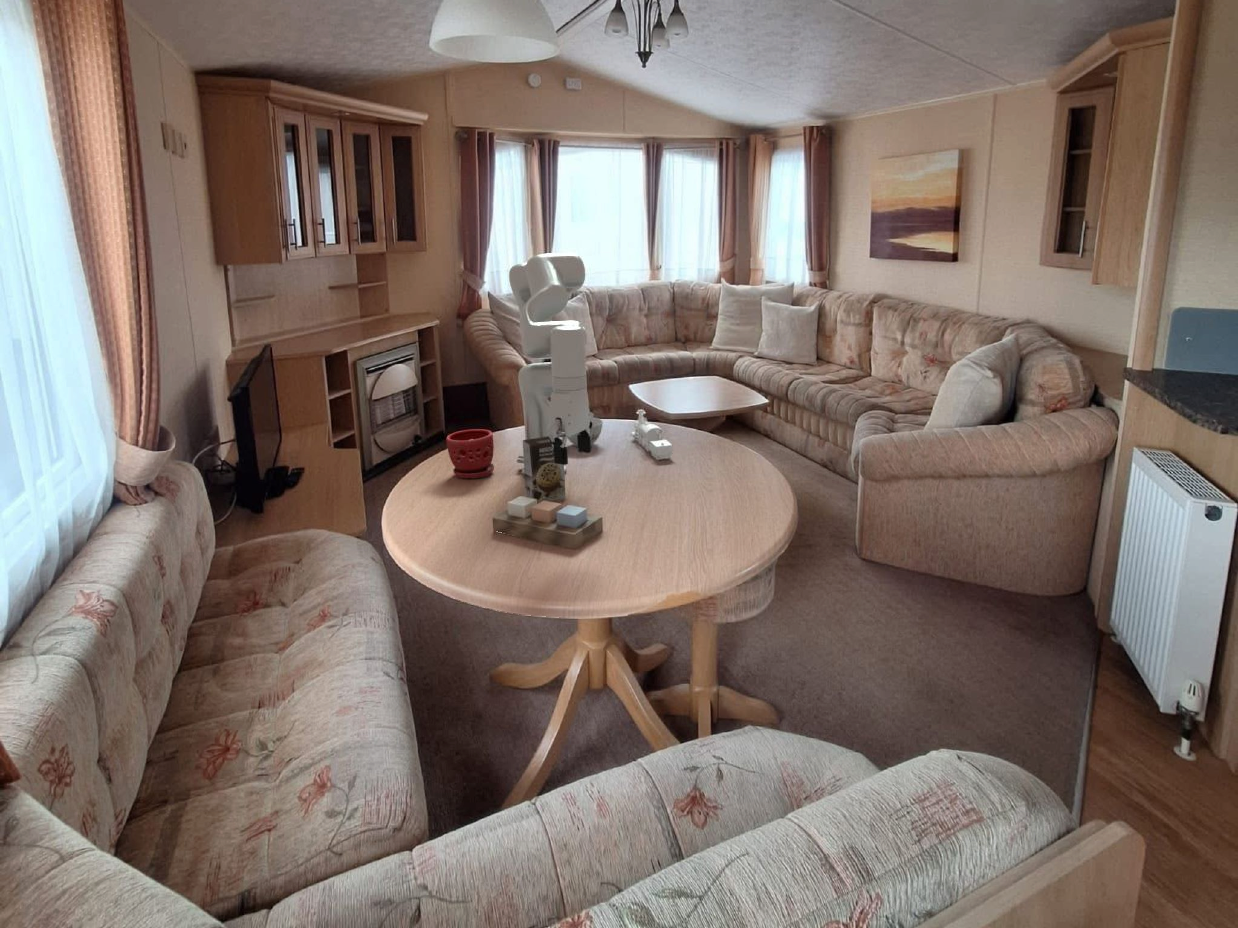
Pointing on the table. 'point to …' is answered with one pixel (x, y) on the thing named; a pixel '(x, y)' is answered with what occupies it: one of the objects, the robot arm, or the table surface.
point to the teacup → (594, 432)
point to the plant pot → (471, 452)
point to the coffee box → (542, 471)
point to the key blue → (572, 516)
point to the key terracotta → (545, 511)
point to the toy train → (651, 438)
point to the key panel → (548, 530)
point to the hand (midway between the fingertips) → (573, 457)
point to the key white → (521, 506)
